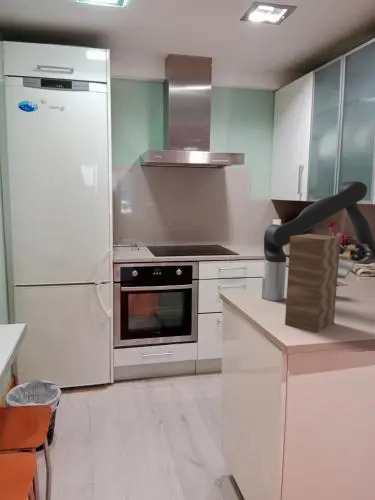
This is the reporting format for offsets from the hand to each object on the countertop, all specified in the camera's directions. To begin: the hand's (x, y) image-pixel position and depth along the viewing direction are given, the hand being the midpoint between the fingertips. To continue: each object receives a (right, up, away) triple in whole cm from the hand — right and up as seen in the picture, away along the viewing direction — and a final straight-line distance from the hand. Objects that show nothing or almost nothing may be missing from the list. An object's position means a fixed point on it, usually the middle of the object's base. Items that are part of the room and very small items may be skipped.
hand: (347, 252), depth 163 cm
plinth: (-21, -26, -19) cm, 39 cm away
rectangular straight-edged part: (-1, -4, -1) cm, 4 cm away
